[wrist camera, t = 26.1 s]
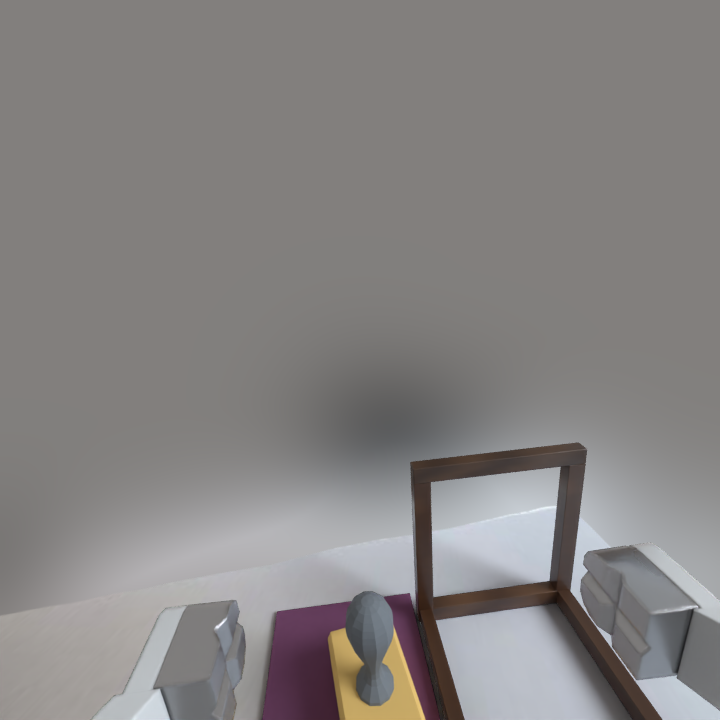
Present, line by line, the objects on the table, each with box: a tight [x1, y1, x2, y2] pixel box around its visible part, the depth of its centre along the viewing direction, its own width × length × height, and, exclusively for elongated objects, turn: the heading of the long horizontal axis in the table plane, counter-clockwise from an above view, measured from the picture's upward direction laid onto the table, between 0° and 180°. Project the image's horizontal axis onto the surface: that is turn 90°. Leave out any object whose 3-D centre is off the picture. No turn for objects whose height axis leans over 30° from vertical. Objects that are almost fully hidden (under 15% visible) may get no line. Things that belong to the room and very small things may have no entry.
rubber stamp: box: [328, 591, 426, 720], centre depth 27 cm, size 10×6×12 cm, turn 14°
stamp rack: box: [410, 443, 662, 720], centre depth 28 cm, size 16×15×18 cm
